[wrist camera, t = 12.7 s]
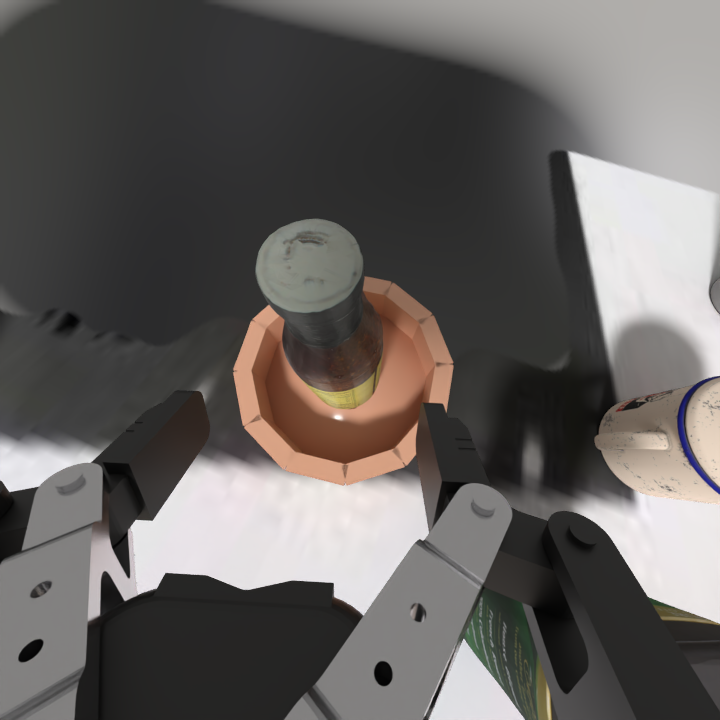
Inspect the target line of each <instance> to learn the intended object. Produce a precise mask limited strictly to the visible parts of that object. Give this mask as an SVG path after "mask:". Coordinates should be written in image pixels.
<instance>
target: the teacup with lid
mask: <svg viewBox="0 0 720 720" xmlns="http://www.w3.org/2000/svg"><path fill="white" fill-rule="evenodd" d="M594 440H595V445H596V447H597V448H598V449H599V450H601V452H602V455H603V457H604V459H605V461H606V463H607V465H608V466H609V468H610V469H611V470H612V472H613V473H614V474H615V475H616V476H617V477H618V478H619V479H620V480H621V481H622V482H624V483H625V484H626V485H628V486H629V487H631V488H632V489H634V490H636V491H638V492H640V493H643V494H646V495H650V496H655V497H663V498H671V499H679V500H687V501H695V502H703V503H711V504H720V376H716V377H711V378H708V379H705V380H703V381H701V382H699V383H697V384H696V385H692V386H688V387H683V388H679V389H674V390H670V391H666V392H661V393H657V394H653V395H648V396H644V397H639V398H635V399H631V400H626V401H623V402H620V403H618V404H616V405H614V406H613V407H612V408H610V409H609V410H608V411H607V413H606V414H605V415H604V417H603V419H602V421H601V423H600V427H599V435H597V436H595V439H594Z"/></svg>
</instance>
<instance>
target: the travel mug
mask: <svg viewBox="0 0 720 720" xmlns="http://www.w3.org/2000/svg"><path fill="white" fill-rule="evenodd" d="M711 299H712V302H713V304H714V306H715V308H716V309H717V311H718V312H719V313H720V278H719V279H718V280H716V282H715V283H714V284H713V286H712V288H711Z"/></svg>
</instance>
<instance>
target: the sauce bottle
mask: <svg viewBox="0 0 720 720" xmlns="http://www.w3.org/2000/svg"><path fill="white" fill-rule="evenodd" d="M364 271H365V270H364V260H363V255H362V251H361V248H360V247H359V245H358V243H357V241H356V239H355V238H354V237H353V236H352V235H351V234H350V233H349V232H348V231H347V230H346V229H344V228H343V227H341V226H340V225H338V224H336V223H333V222H330V221H327V220H321V219H308V220H302V221H297V222H294V223H291V224H289V225H287V226H284V227H281V228H279V229H278V230H277V231H276V232H274V233H273V234H271V235H270V236H269V237H268V238H267V240H266V241H265V242H264V243H263V245H262V247H261V249H260V251H259V253H258V258H257V262H256V269H255V273H256V278H257V282H258V285H259V287H260V289H261V291H262V293H263V294H264V296H265V298H266V300H267V302H268V304H269V305H270V307H271V308H272V309H273V310H274V311H275V312H276V313H277V314H278V315H279V316H280V317H282V318H283V319H284V320H285V321H284V326H283V332H282V344H283V349H284V353H285V356H286V359H287V360H288V362H289V364H290V366H291V367H292V369H293V370H294V372H295V373H296V374H297V375H298V376H299V378H300V379H301V380H302V381H303V382H304V383H305V384H306V385H307V386H308V387H309V389H310V390H311V391H312V392H313V393H314V394H315V395H317V396H318V397H319V398H320V399H321V400H322V401H323V402H324V403H325V404H327V405H329V406H331V407H333V408H336V409H355V408H357V407H358V406H360V405H362V404H364V403H365V402H366V401H368V400H369V399H370V398H371V397H372V395H373V394H374V392H375V390H376V388H377V386H378V382H379V377H380V370H381V362H382V355H383V327H382V322H381V318H380V315H379V314H378V313H377V312H376V311H375V309H374V307H373V305H372V304H371V303H370V302H369V301H368V300H367V298H366V296H365V294H364V292H363V286H364V279H365V273H364Z"/></svg>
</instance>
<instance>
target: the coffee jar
mask: <svg viewBox="0 0 720 720" xmlns="http://www.w3.org/2000/svg"><path fill="white" fill-rule="evenodd" d="M648 598H649V597H648ZM649 600H650V601H651V603H652V605H653V606H654V608H655V609H656V611H657V613H658V614H659V616H660V617H661V619H662V620H663V622H664V624H665V625H666V627H667V628H668V630H669V632H670V633H671V635H672V636H673V638H674V639H675V641H676V643H677V644H678V646H679V647H680V649H681V651H682V652H683V654H684V655H685V657H686V658H687V660H688V662H689V663H690V665H691V666H692V668H693V670H694V671H695V673H696V674H697V676H698V678H699V679H700V681H701V682H702V684H703V685H704V687H705V689H706V690H707V692H708V693H709V695H710V697H711V698H712V700H713V701H714V703H715V704H716V706H717V708H718V709H719V711H720V624H718V623H716V622H713V621H711V620H708V619H706V618H703V617H700V616H697V615H695V614H692V613H689V612H686V611H683V610H680V609H678V608H675V607H672V606H670V605H667V604H664V603H661V602H659V601H656V600H654V599H652V598H649ZM464 639H465V640H466V642H467V643H468V645H469V646H470V648H471V649H472V650H473V652H474V653H475V654H476V656H477V657H478V658H479V660H480V661H481V662H482V663H483V665H484V666H485V667H486V668H487V670H488V671H489V672H490V673H491V675H492V676H493V677H494V678H495V680H496V681H497V682H498V684H499V685H500V686H501V688H502V689H503V690H504V692H505V693H506V694H507V695H508V697H509V698H510V700H511V701H512V702H513V704H514V705H515V706H516V708H517V709H518V711H519V712H520V713H521V715H522V716H523V717H524V719H525V720H558V717H557V714H556V711H555V707H554V704H553V701H552V698H551V695H550V691H549V688H548V685H547V682H546V678H545V675H544V672H543V669H542V666H541V662H540V659H539V656H538V653H537V650H536V646H535V643H534V640H533V637H532V634H531V630H530V627H529V624H528V621H527V618H526V614H525V611H524V608H523V605H522V602H519V601H517V600H514V599H512V598H509V597H507V596H505V595H502V594H500V593H497V592H495V591H492V590H490V589H487V588H485V589H484V592H483V594H482V596H481V599H480V601H479V603H478V606H477V608H476V610H475V613H474V615H473V617H472V620H471V622H470V624H469V627H468V629H467V631H466V634H465V636H464Z"/></svg>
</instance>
